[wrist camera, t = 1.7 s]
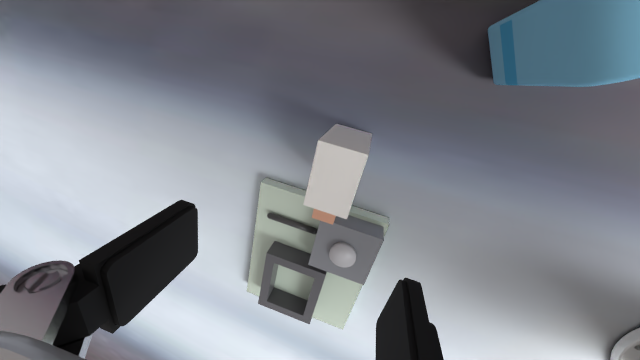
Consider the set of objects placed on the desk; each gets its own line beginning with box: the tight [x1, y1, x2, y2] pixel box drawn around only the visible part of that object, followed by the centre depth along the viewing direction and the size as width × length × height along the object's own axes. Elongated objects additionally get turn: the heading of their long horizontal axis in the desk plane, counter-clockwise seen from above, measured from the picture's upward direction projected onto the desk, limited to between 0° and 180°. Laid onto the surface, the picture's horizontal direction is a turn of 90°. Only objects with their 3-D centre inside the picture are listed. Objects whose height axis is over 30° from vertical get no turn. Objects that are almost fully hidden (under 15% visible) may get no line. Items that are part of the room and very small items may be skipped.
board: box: [247, 178, 389, 329], centre depth 31 cm, size 16×20×5 cm
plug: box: [303, 124, 372, 225], centre depth 23 cm, size 4×7×8 cm, turn 167°
